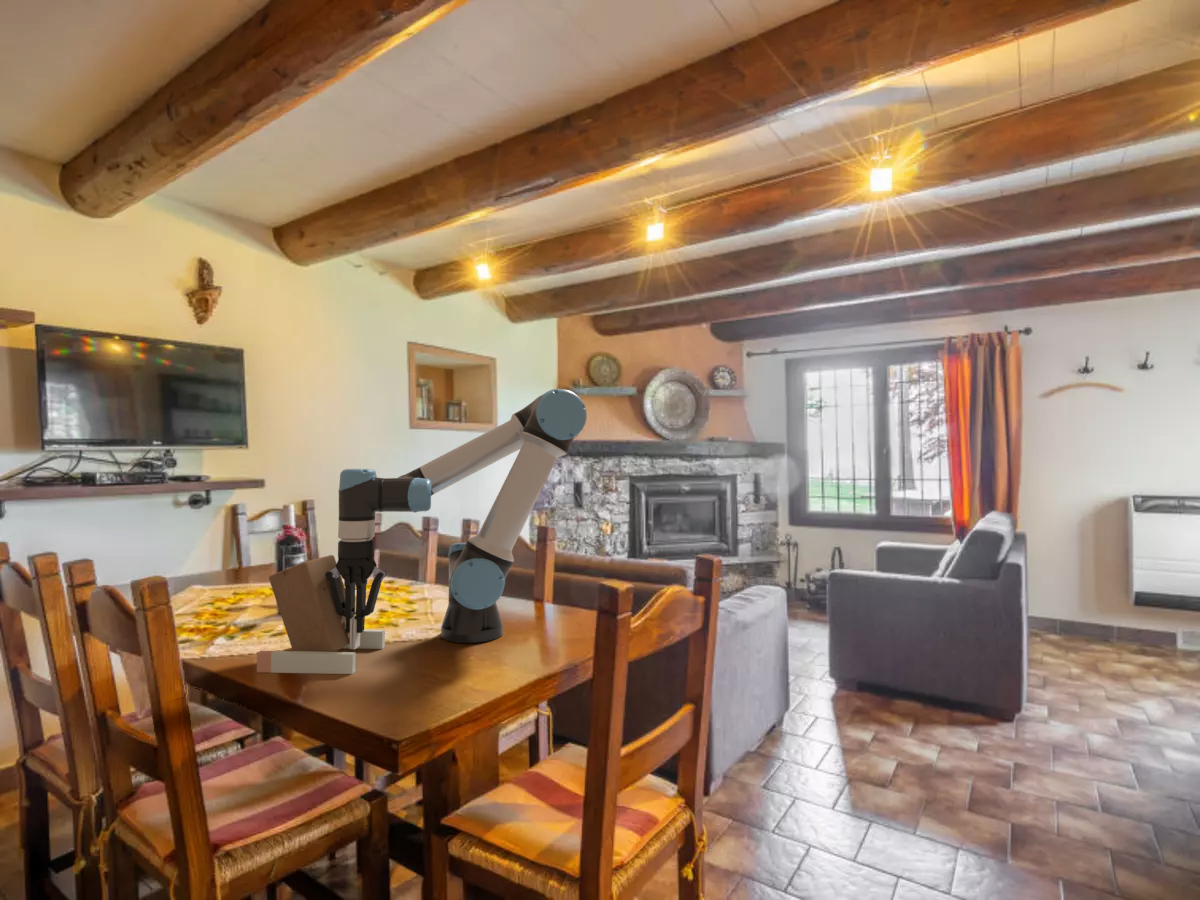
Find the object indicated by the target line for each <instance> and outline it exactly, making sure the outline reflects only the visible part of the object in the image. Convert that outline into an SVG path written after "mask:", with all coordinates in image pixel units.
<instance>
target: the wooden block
mask: <svg viewBox="0 0 1200 900" xmlns="http://www.w3.org/2000/svg"><path fill="white" fill-rule="evenodd" d="M336 564H337V561H336V557H335V555H334V554H330V555H325V556H322V557H317V558H313V559H310V560H307V561H302V562H300V563H298V564H295V565H293V566H291V567H288V568H286V569H283V570H281V571H279V572H275V573H273V574H271V575H270V576H268V580H269V584H270V586H271V589H272V593H273V595H274V598H275V601H276V603H277V607H278V609H279V613H280V616H281V619H282V620H281V621H282V622H283V624H284V628H285V631H286V632H285V633H286V634H287V638H288V641H289V643H290V647H291V651H310V652H337V651H338V650H340V649H344V648H343V647H345V646H347V645H349V644H350V633H347V632H346V618H345V617H344V616H342V615H338V614H337V611H336V606H335V602H334V598H333V594H332V590H331V585H330V582H329V580H328V579H327V577H326V576H325V573H326V572H328V571H330V570H332V569H334V568H335V567H336ZM339 578H340V582H341V586H342V590H343V594H344V598H345V586H344V581H343V577H342V576H341V575H340V573H339ZM360 638H361V634H360Z"/></svg>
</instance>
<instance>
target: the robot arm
mask: <svg viewBox="0 0 1200 900" xmlns="http://www.w3.org/2000/svg"><path fill="white" fill-rule="evenodd" d="M587 414H588V413H587V408H586V406H585V404H584V402H583V400H582V398H581V397H580V396H579V395H577V393H575V392H573V391H571V390H569V389H564V388H554V389H550V390H548V391H546V392H545V393H544V394H541V395H539V396H538V397H536V398H535V399H534V400H533V401H532V402H530V403H529V404H527V405H526V406H524V407H523V408H522V409H520V410H518V411H517V412H515V413H513V414H512V415H511V417H510V419H509V420H508V421H506V422H503V423H502V424H500V425H498V426H495V427H494V428H493V429H491V430H489V431H486V432H485V433H483V434H481V435H479V436H477V437H475V438H473V439H471V440H469V441H467V442H466V443H463V444H462V445H459V446H458V447H456V448H453V449H452V450H450V451H448V452H446V453H444V454H442V455H440V456H439V457H436V458H434V459H432V460H430V461H428V462H427V463H425V464H423V465H421V466H419V467H417V468H415V469H413V470H411V471H410V472H408V473H405V474H403V475H400V476H399V477H389V478H384V477H378V476H377V472H376V470H375V469H374V468H345V469H343V470H342V471H341V472H340V474H339V475H340V476H339V486H338V527H337V529H338V532H337V534H338V535H337V537H338V539H340V540H339V541H338V543H337V558H338V559H337V561H336V563H337V564H336V567H335V568H334V569H332V570H330V571H328V572H326V573H325V576H326V577H327V579H328V580H329V582H330V585H331V590H332V594H333V598H334V602H335V606H336V611H337V614H338V615H342V616H344V617H345V618H346V632H347V633H350V648H349V650H356V649H357V648H358V647H359V646H360V633H362V632H363V631H364V629H365V623H366V622H365V619H366V617H368V616H370V615H371V614H372V613H374V611H375V607H376V603H377V600H378V596H379V592H380V588H381V585H382V582H383V580H384V579H385V577H386V576H387V571H386V570H382V569H380V568H379V567H377V562H376V561H375V556H376V555H375V552H376V551H375V547H376V545H375V544H376V543H375V539H373V538H374V537H376V535H375V534H376V532H375V531H376V512H377V513H378V512H380V513H382V512H383V513H385V512H389V513H392V512H394V513H397V512H398V513H401V512H402V513H403V512H405V513H409V512H410V513H411V512H412V513H418V512H428V511H430V510H431V507H432V496H433V495H435V494H437V493H439V492H441V491H442V490H445V489H447V488H449V487H450V486H452V485H454V484H456V483H458V482H460V481H462V480H464V479H466V478H467V477H469V476H471V475H474V474H475V473H477V472H479V471H481V470H482V469H485V468H487V467H489V466H491V465H492V464H494V463H496V462H498V461H500V460H501V459H503V458H506V457H508V456H509V455H511V454H513V453H515V452H517V451H519V452H518V454H517V455H516V457H515V459H514V462H513V463H512V466H511V468H510V470H509V472H508V473H507V476H506V477H505V479H504V482H503V484H502V486H501V488H500V489H499V492H498V494H497V496H496V498H495V500H494V502H493V503H492V506H491V508H490V510H489V511H488V514H487V515H486V518H485V520H484V522H483V523H482V525H481V528H480V530H479V531H478V533H477V535H475V536H472V537H469V538H468V539H467V541H466V542H455V543H454V542H453V543H452V544H450V546H449V547H448V554H447V557H448V606H447V609H446V612H445V614H444V617H443V620H442V624H441V627H440V637H441V638H442V639H443V640H445V641H448V642H452V643H461V644H473V643H474V644H475V643H483V642H488V641H492V640H496V639H499V638H500V637H502V636H503V634H504V623H503V621H502V618H501V614H500V610H499V608H498V605H497V602H498V600H499V599H501V596H502V595H503V592H504V589H505V586H506V578H507V575H508V574H509V572H510V570H511V568H512V566H513V564H514V562H515V558H514V554H513V553H512V552H513V549H514V546H515V544H516V542H517V540H518V538H520V535H521V533H522V530H523V528H524V526H525V525H526V522H527V521H528V518H529V516H530V514H531V513H532V510H533V508H534V506H535V503H536V502H537V500H538V499H539V496H540V494H541V492H542V489H543V487H544V486H545V484H546V482H547V480H548V478H549V476H550V474H551V472H552V469H553V467H554V465H555V464H556V462H557V459H558V458H560V457H564V456H566V455H567V453H568V451H569V449H570V448H571V446H572V443H573V441H574V439H575V438H576V437H577V436H578V435H579V434H580V433H581V432H582V431H583V430H584V427H585V426H586V424H587V423H586V422H587ZM339 573H340V575H341V578H342V580H344V581H343V584H344V587H345V598H344V594H343V590H342V586H341V582H340V578H339ZM371 576H372V578H373V580H372V582H371V585H370V590H369V593H368V597H367V585H368V579H369V578H370V577H371Z"/></svg>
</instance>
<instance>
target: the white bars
mask: <svg viewBox="0 0 1200 900" xmlns="http://www.w3.org/2000/svg"><path fill="white" fill-rule="evenodd" d="M360 634H361V638H360V646H359V647H358V648H356V649H362V650H363V649H368V650H369V649H371V650H383V649H384V648H385V646H386V644H385V643H386V642H385V640H386V639H385V637H386V636H385V635H386V631H385V629H365V628H364V631H363V632H362V633H360ZM342 649H350V644H349V645H347V646H345V647H343V648H342ZM356 654H357V653H356V652H355V651H353V652H351V651H350V652H349V651H334V652H310V651H293V650H259V651H258V652H256V673H273V674H274V673H275V674H276V673H277V674H280V673H281V674H319V675H320V674H330V675H331V674H333V675H334V674H335V675H353V674H355V673H356V671H357V669H356V664H357V663H356V661H357V660H356V659H357V658H356V657H357V656H356Z"/></svg>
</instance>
